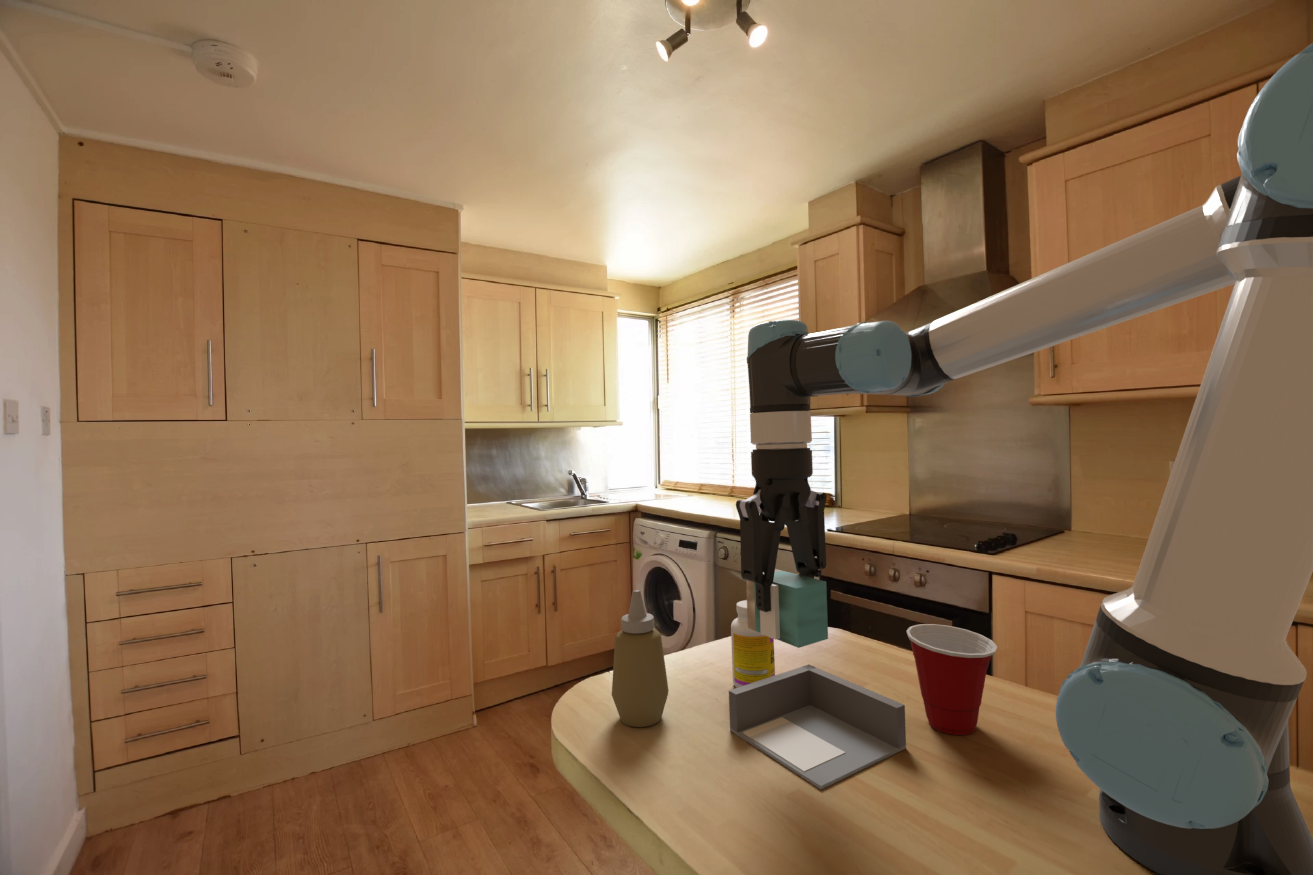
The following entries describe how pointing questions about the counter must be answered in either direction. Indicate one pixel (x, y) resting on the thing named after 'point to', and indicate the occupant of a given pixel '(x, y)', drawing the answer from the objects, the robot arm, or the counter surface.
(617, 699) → the squeeze bottle
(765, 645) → the supplement bottle
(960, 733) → the plastic cup
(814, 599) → the teal block
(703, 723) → the counter surface
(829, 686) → the corner tray
